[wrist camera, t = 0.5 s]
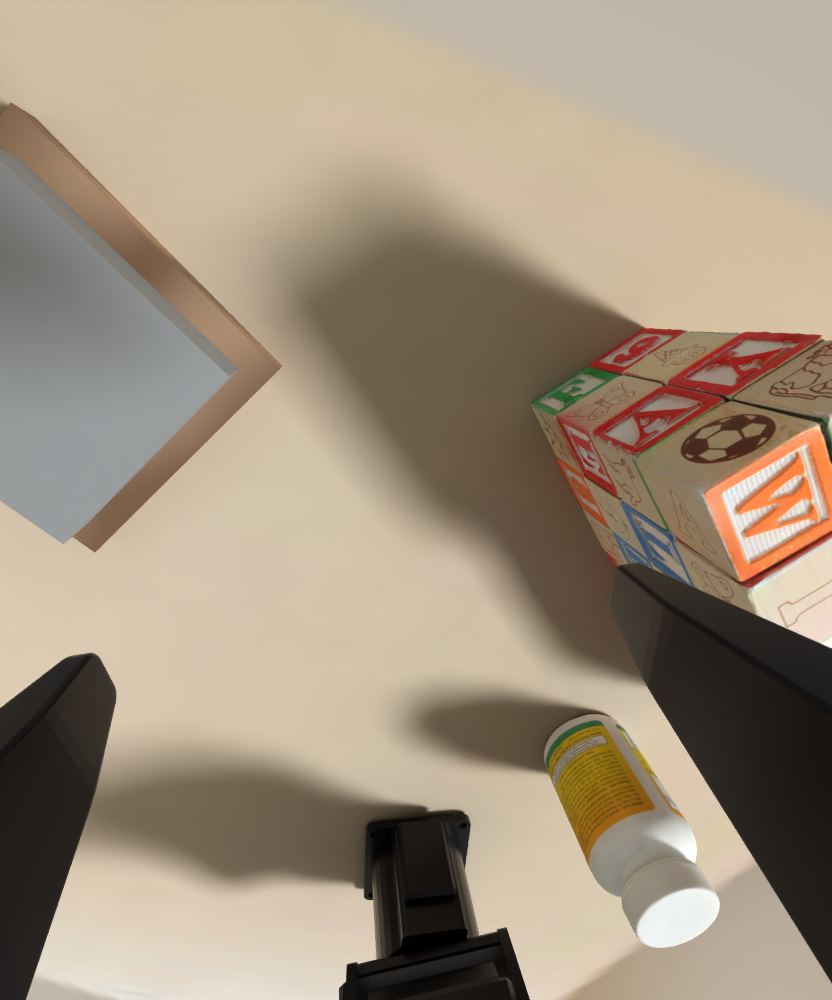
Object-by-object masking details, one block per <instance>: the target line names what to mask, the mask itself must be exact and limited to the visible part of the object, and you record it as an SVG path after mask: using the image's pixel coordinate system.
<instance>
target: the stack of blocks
mask: <svg viewBox="0 0 832 1000" xmlns="http://www.w3.org/2000/svg"><path fill="white" fill-rule="evenodd" d="M531 408H532V410H533V412H534V414H535V415H536V417H537V419H538V421H539V423H540V425H541V427H542V429H543V431H544V433H545V435H546V437H547V439H548V441H549V443H550V444H551V446H552V448H553V450H554V452H555V454H556V459H557V462H558V464H559V465H560V467H561V469H562V471H563V473H564V475H565V477H566V479H567V481H568V483H569V484H570V486H571V488H572V490H573V492H574V494H575V496H576V498H577V500H578V502H579V504H580V505H581V506H582V509H583V511H584V513H585V515H586V517H587V519H588V521H589V523H590V525H591V527H592V529H593V531H594V533H595V534H596V536H597V538H598V540H599V542H600V544H601V546H602V547H603V549H604V550H605V551H606V552H607V553H608V554H609V556H610V558H611V560H612V562H613V563H614V565H615V567H617V566H618V565H623V564H629V563H640V564H643V565H645V566H647V567H650V568H652V569H654V570H656V571H659V572H661V573H663V574H665V575H668V576H670V577H672V578H674V579H677V580H679V581H681V582H683V583H686V584H688V585H690V586H693V587H695V588H697V589H699V590H702V591H704V592H706V593H708V594H711V595H713V596H715V597H717V598H720V599H722V600H724V601H726V602H729V603H731V604H733V605H735V606H738V607H740V608H742V609H744V610H747V611H749V612H751V613H753V614H756V615H758V616H760V617H762V618H765V619H767V620H769V621H771V622H774V623H776V624H778V625H780V626H783V627H785V628H787V629H789V630H792V631H794V632H796V633H798V634H801V635H803V636H805V637H807V638H810V639H812V640H814V641H817V642H819V643H821V644H823V645H826V646H828V647H830V648H832V341H825V340H824V339H823V337H822V335H805V334H800V333H796V334H789V333H769V332H745V333H742V334H740V333H714V332H688V331H683V330H671V329H668V330H666V329H653V328H647V329H644V330H642V331H640V332H639V333H637V334H636V335H634V336H633V337H631V338H630V339H628V340H626V341H625V342H623V343H622V344H620V345H619V346H617V347H616V348H614V349H613V350H611V351H609V352H608V353H606V354H605V355H603V356H602V357H600V358H599V359H597V360H596V361H594V362H592V363H591V364H590V365H589V366H588V367H587V368H585V369H584V370H582V371H581V372H579V373H577V374H576V375H574V376H573V377H571V378H570V379H568V380H566V381H565V382H563V383H562V384H560V385H559V386H557V387H555V388H554V389H552V390H551V391H549V392H548V393H546V394H544V395H543V396H541V397H540V398H538V399H536V400H535V401H533V402H532V403H531Z"/></svg>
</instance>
